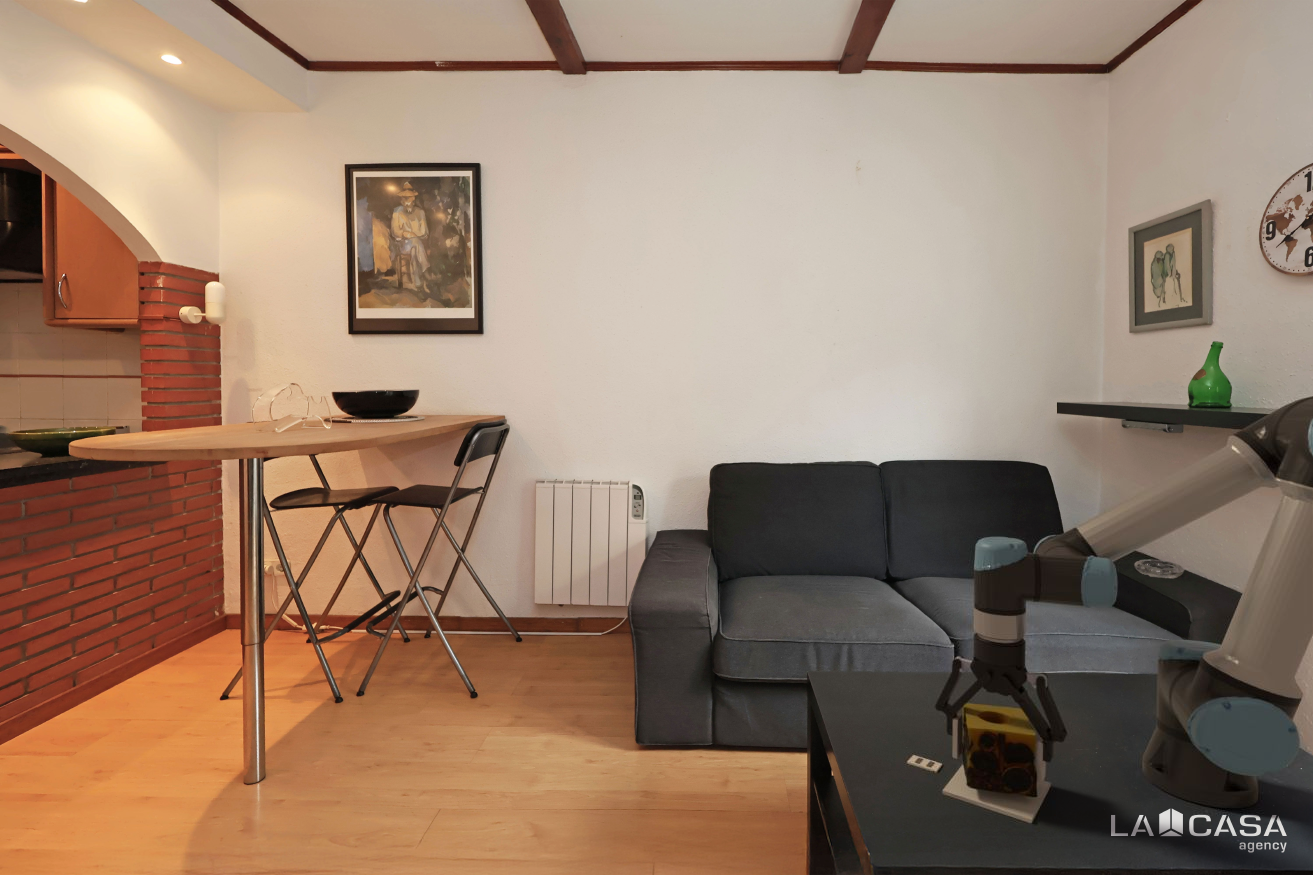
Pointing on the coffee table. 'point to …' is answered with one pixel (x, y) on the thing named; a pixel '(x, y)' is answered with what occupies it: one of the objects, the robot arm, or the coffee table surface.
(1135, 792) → the coffee table surface
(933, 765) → the tag
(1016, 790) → the candle
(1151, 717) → the coffee table surface
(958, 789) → the coaster
